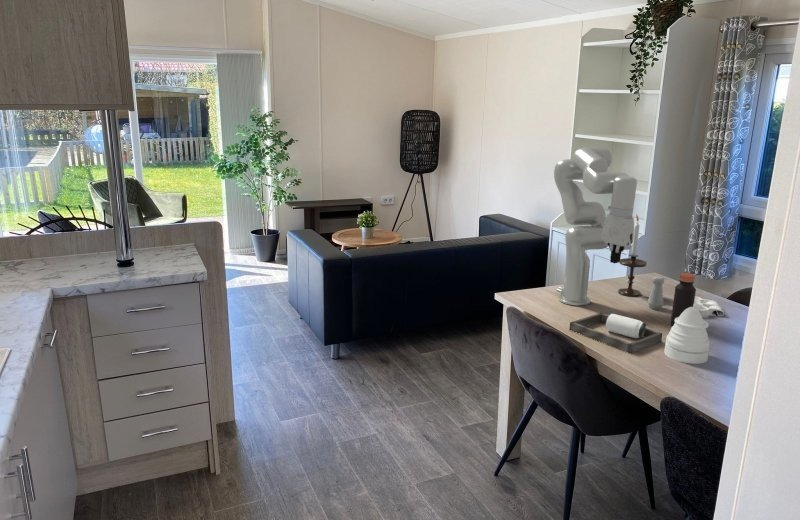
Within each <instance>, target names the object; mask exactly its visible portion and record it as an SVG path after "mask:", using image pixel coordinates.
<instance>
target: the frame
mask: <svg viewBox="0 0 800 520" xmlns="http://www.w3.org/2000/svg"><path fill="white" fill-rule="evenodd" d="M609 315H610V314H606V313H603V312H599V313H596V314H593V315H589V316H586V317H584V318H583V317H582V318H580V319H576V320H574V321H570V322H569V329H568V331H570V330H572V331H571V332H573V331H574V332H573V333H575V332H577V333H576V334H578V333H580V334H579V335H581V334H582V335H581V336H583V335H584V337H586V336H587V337H586V338H588V337H589V339H591V338H592V339H591V340H594V339H595V340H594V341H596V340H597V342H599V341H600V342H599V343H601V342H603V343H602V344H604V343H605V344H604V345H606V346H609V345H610V347H612V348H614V347H615V349H618V350H620V351H622V350H623V351H622V352H625V351H626V352H625V353H627V352H628V353H627V354H630V353H631V354H634V353H635V352H638V350H639V351H640V350H644V349H646V348H649V347H650V346H653V345H656V344H659V343H660V342H662V338H663V333H662V332H659V331H656V330H654V329H650V328H648V327H646V329H645V333H644V336H643V337H642V338H641V339H640V338H639V339H638V340H636V341H633V342H628V341H626V340H624V339H623V340H622V339H621V338H618V337H615V336H611V335H609V334H606V333H604V332H601V331H598V330H595V329H593V328H590V327H589V326H591V324H592V325H595V323H596V324H598V323H603V324H606V320H607V318H608V316H609ZM588 325H589V326H588ZM585 326H586V327H585Z"/></svg>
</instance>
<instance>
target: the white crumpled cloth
mask: <svg viewBox="0 0 800 520" xmlns="http://www.w3.org/2000/svg"><path fill="white" fill-rule="evenodd" d="M694 304H700V305H702V308H701V310H700V311H699V312H700V314H701V316H702V318H708V317H710V316H712V317H717V316H716V314H715V313H714V312H715V311H717V312H718V315H719V316H718V317H723V316H725V311H724V310H723V309H722V307H721V306H720V305H719V303H718V302H717V301H715V300H712V299H705V298H701V297H699V296H696V295H695V300H694Z"/></svg>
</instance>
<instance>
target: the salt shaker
mask: <svg viewBox="0 0 800 520" xmlns="http://www.w3.org/2000/svg"><path fill="white" fill-rule="evenodd" d="M651 281H652V284H653V285H652V288H651V290H650V294H649V297H648V300H647V304H648V307H649V309H652V310H655V311H659V310H661V309H662V308H663V305H664V291H663V284H664V283H665V278H664V277H662V276H654V277H652V280H651Z"/></svg>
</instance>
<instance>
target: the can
mask: <svg viewBox="0 0 800 520" xmlns="http://www.w3.org/2000/svg"><path fill="white" fill-rule="evenodd" d="M608 315H609V316H608V318H607V320H606V323H605V328H606V330H607V331H608V332H610V333H613V334H618V335H621V336H626V337H628V338H629V337H630V338H632V339H639V340H640V339H643V338H644V337H643V336H644V333H645V329H646V328H647V327H646V323H645V322H643V321H641V320H640V319H639V320H638V319H635V318H632V317H628V316H623V315H619V314H615V313H610V314H608Z"/></svg>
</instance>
